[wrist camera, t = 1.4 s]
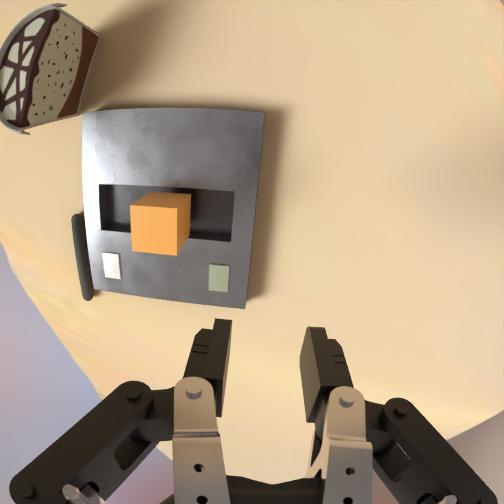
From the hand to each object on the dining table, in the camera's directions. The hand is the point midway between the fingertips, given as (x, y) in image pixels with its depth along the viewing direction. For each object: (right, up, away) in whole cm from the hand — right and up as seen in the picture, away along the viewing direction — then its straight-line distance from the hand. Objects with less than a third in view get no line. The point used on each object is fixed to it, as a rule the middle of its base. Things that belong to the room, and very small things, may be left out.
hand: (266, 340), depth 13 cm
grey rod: (-21, +3, +20) cm, 29 cm away
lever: (-8, +8, +17) cm, 21 cm away
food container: (-21, +24, +12) cm, 34 cm away
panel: (-9, +8, +17) cm, 22 cm away
